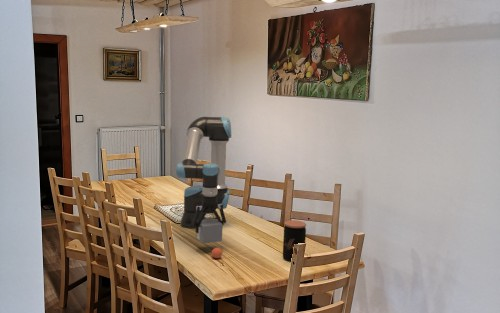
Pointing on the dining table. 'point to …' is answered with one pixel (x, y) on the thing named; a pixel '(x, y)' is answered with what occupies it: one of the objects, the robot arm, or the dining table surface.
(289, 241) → the coffee jar
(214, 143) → the robot arm
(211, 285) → the dining table surface
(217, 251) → the ball
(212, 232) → the rounded grey cube
